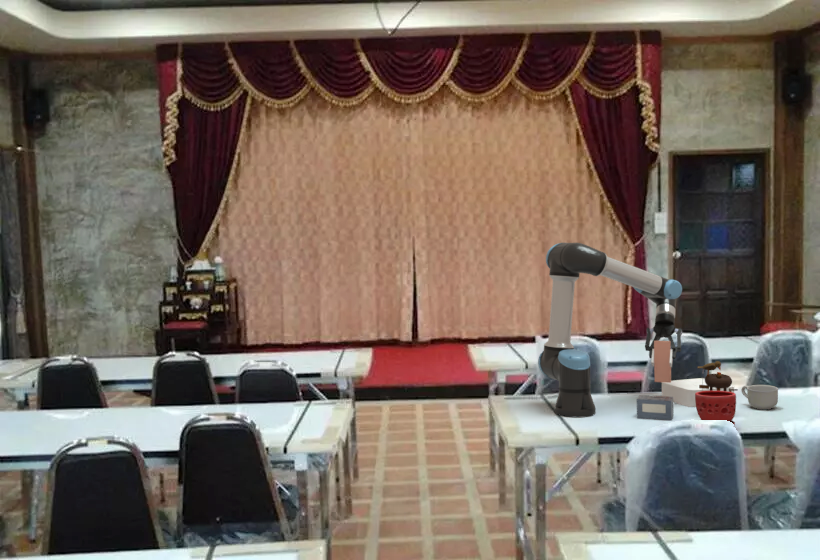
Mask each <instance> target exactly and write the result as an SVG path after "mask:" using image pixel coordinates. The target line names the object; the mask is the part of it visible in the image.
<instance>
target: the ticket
mask: <svg viewBox="0 0 820 560" xmlns="http://www.w3.org/2000/svg"><path fill="white" fill-rule="evenodd" d="M670 349H672V348H671V341H669V340H659V341H654V366H653V367H654V368H653V369H654V383H662V382H669V383H671V381H672V367H670V363H669V362H670Z"/></svg>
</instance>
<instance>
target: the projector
mask: <svg viewBox="0 0 820 560" xmlns="http://www.w3.org/2000/svg"><path fill="white" fill-rule="evenodd" d="M702 382H703V385H707V384H706V383H705V378H704V377H701V378H698V377H697V378H688V379H687V378H686V379H676V380H675V379H674V380H671V383H669V382H661V396H668V397H673V403H674V402H676V403H675V404H678V405H681V406H683V407H684V406H685V407H688V408H696V402H695V393H696V392H700V391H702V388H699V385H702ZM729 388H730V389H735V386H734V385H732V384H731V386H730V387H728V388H727V389H726V391H728V392H729ZM703 391H710V387H709V389H703ZM713 391H717V388H713ZM720 391H724V388H721V389H720ZM731 392H733V393H735V391H732V390H731Z"/></svg>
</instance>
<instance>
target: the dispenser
mask: <svg viewBox="0 0 820 560" xmlns="http://www.w3.org/2000/svg"><path fill="white" fill-rule="evenodd" d="M674 415H675V414H674V402H673V397H668V396H662V395H645V394H642V395H641V394H639V395H638V397H637V398H636V418H637V419H643V420H644V419H645V420H659V421H660V420H661V421H672V420H673V418H674Z"/></svg>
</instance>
